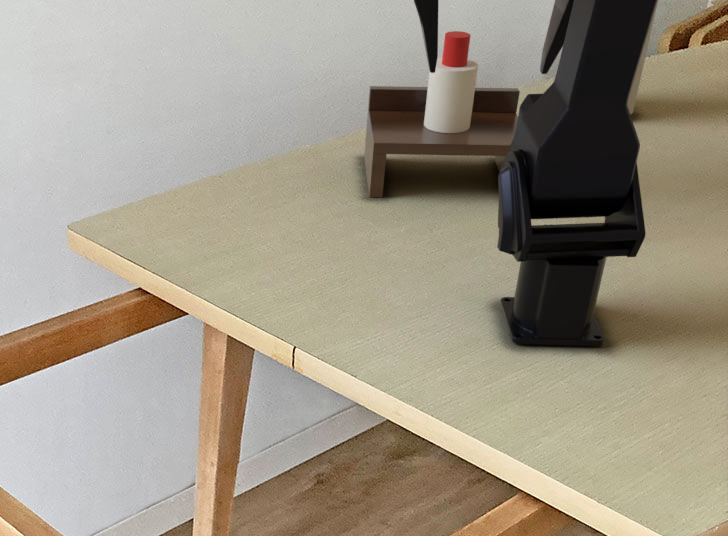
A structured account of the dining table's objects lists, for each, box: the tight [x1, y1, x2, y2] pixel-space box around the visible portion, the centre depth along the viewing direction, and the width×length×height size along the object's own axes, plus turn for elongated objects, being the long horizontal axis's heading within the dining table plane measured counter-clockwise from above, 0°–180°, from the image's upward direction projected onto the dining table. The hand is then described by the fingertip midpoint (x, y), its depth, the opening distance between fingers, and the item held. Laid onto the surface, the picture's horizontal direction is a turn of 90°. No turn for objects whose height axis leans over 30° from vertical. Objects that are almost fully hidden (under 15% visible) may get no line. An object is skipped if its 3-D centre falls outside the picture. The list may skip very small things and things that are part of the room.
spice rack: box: [363, 85, 521, 198], centre depth 100 cm, size 10×14×7 cm
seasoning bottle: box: [424, 30, 479, 133], centre depth 97 cm, size 4×4×8 cm
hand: (487, 72), depth 90 cm, fingers open, 9 cm apart
